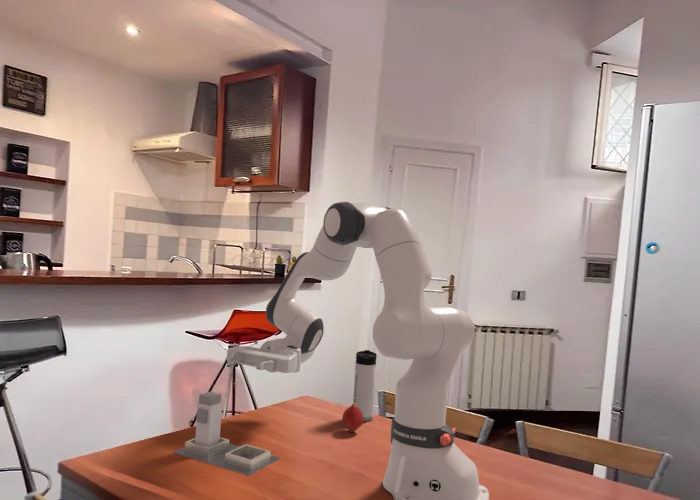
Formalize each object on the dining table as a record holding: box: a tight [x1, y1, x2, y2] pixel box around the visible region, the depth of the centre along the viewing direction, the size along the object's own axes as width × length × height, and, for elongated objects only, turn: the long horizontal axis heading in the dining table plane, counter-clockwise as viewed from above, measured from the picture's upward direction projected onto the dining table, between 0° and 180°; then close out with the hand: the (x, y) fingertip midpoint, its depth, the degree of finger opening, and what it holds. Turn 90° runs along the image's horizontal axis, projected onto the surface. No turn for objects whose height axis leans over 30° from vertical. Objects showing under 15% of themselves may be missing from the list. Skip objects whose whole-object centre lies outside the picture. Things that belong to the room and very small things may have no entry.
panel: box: [172, 436, 281, 477], centre depth 124 cm, size 22×12×3 cm, turn 63°
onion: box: [342, 402, 364, 433], centre depth 148 cm, size 6×6×8 cm
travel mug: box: [352, 349, 378, 422], centre depth 161 cm, size 6×7×20 cm
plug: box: [194, 391, 223, 447], centre depth 126 cm, size 4×5×13 cm
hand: (243, 363), depth 138 cm, fingers open, 8 cm apart
